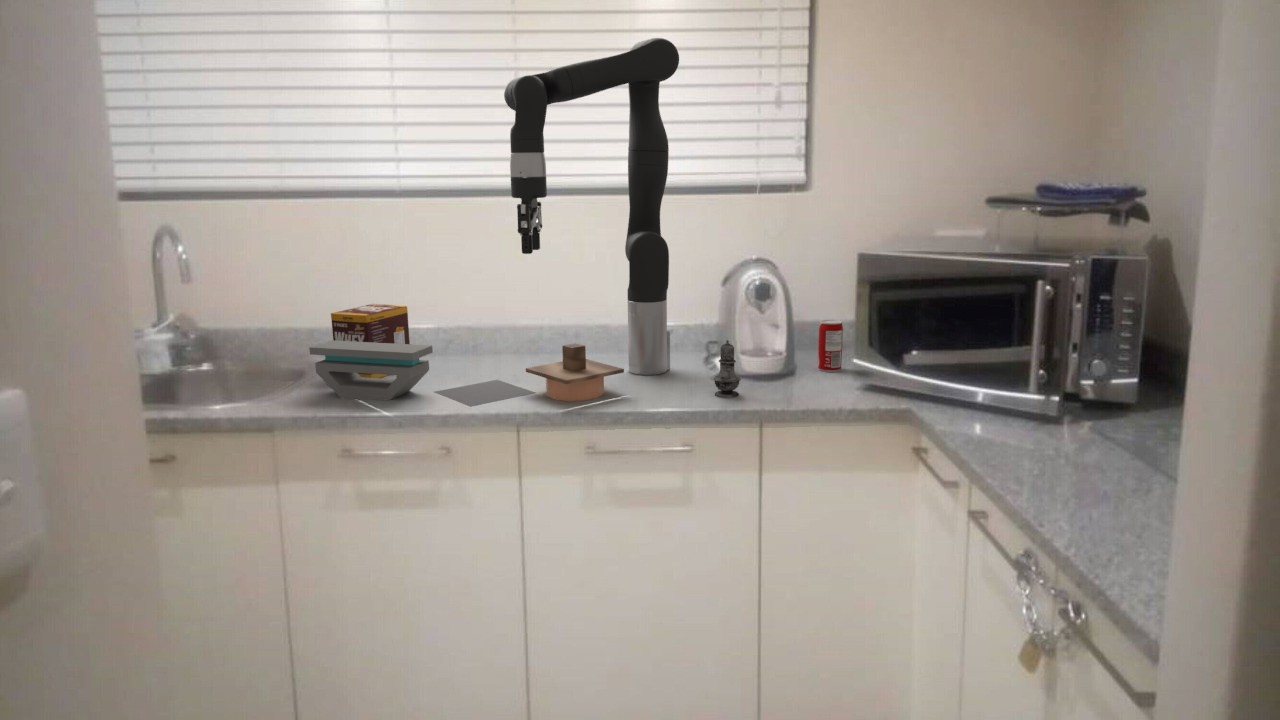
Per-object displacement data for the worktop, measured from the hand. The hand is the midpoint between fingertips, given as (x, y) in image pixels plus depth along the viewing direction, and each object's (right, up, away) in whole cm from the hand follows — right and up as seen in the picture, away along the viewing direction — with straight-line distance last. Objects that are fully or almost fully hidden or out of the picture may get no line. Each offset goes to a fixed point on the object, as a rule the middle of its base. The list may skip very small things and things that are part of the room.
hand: (531, 251), depth 185 cm
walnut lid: (+10, -26, -2) cm, 28 cm away
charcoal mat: (-10, -31, +1) cm, 32 cm away
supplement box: (-41, -27, +22) cm, 53 cm away
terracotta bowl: (+10, -31, -1) cm, 32 cm away
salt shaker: (+42, -31, -2) cm, 52 cm away
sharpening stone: (-34, -31, +1) cm, 46 cm away
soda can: (+69, -26, +19) cm, 76 cm away
